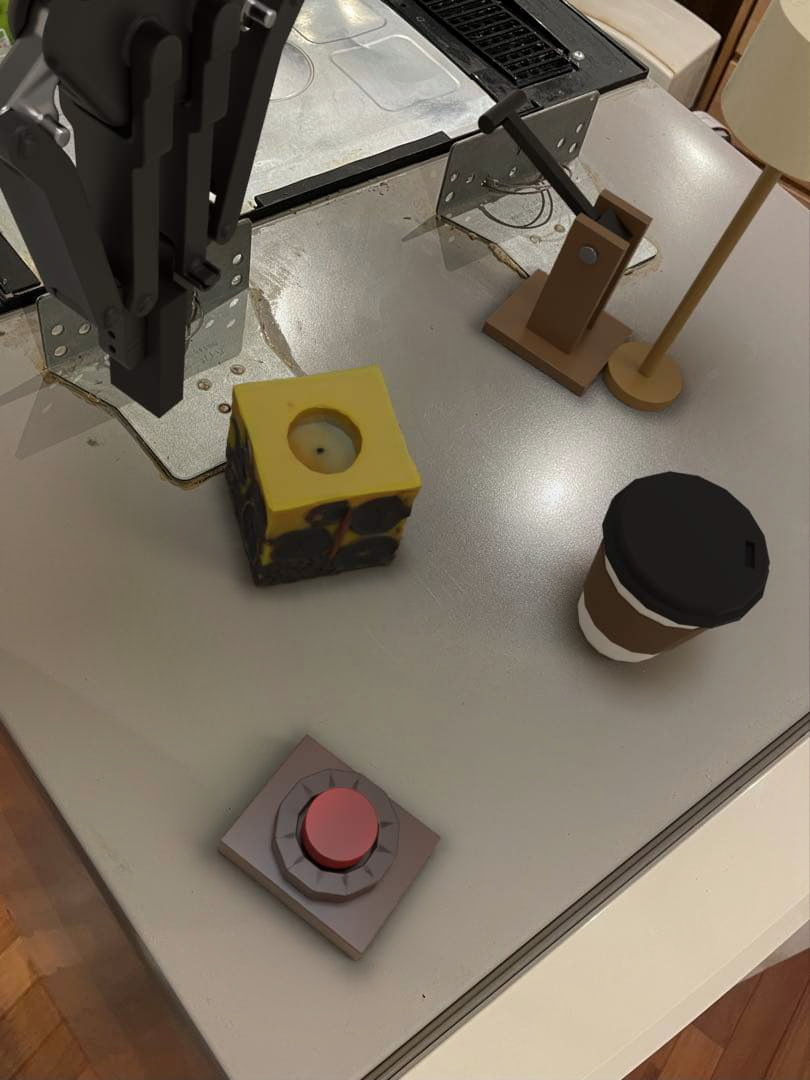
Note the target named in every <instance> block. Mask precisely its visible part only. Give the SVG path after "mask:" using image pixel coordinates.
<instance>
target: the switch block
mask: <svg viewBox="0 0 810 1080" xmlns="http://www.w3.org/2000/svg"><path fill="white" fill-rule="evenodd" d="M333 788H349V789H352V790H355V791H357V792H359V793H360V794H362V795H363V796H365V797H366V798H367V799H368V800H369V802H370V803H371V804H372V806H373V808H374V810H375V812H376V815H377V819H378V831H377V836H376V839H375V841H374V843H373V845H372V846H371V848H370V849H369V850H368V852H367V853H366V854H365V856H364V857H363V858H362V859H361V860H360V861H359V862H357V863H356V864H354V865H352V866H349V867H346V868H340V869H335V868H329V867H326V866H323V865H321V864H319V863H318V862H316V861H315V860H314V859H313V858H312V857H311V856H310V855H309V854H308V852H307V850H306V849H305V846H304V844H303V841H302V833H301V830H302V823H303V820H304V817H305V815H306V813H307V811H308V808H309V806H310V805H311V803H312V802H313V800H314V799H315V798H316V797H317V796H318V795H320V794H321V793H323V792H325V791H327V790H329V789H333ZM441 839H442V837H441V836H440V835H439V834H437V833H436V832H434V831H433V830H432V829H431V828H430V827H428V826H427V825H426V824H424V823H423V822H422V821H420V820H419V819H418V818H416V817H415V816H414V815H412V814H411V813H410V812H409V811H408V810H406V809H405V808H404V807H402V806H401V805H400V804H398V803H397V802H396V801H395V800H393V799H392V798H391V797H390V796H389V795H388V793H387V792H386V791H385V790H383V789H382V788H381V787H380V786H378V785H377V784H375V782H373V781H372V780H370V779H369V778H368V777H367V776H366V775H364V774H363V773H361V772H357V771H355V770H354V769H353V768H352V767H351V766H349V765H348V764H347V763H346V762H344V761H342V760H341V759H340V758H339V757H337V756H336V755H335V754H334V753H332V752H331V751H330V750H328V748H326V747H324V746H323V745H322V744H321V743H320V742H318V741H316V740H315V739H314V738H313V737H312V736H311V735H309V734H305V735H304V736H303V738H302V739H301V740H300V741H299V742H298V744H297V745H296V746H295V747H294V748H293V750H291V752H290V753H289V755H288V756H287V757H286V758H285V760H284V761H282V763H281V764H280V765H279V767H278V768H277V769H276V770H275V772H274V773H273V774H272V775H271V777H270V778H269V779H268V780H267V781H266V782H265V784H264V785H263V786H262V787H261V788H260V789H259V791H258V793H256V794H255V796H254V797H253V798H252V800H251V801H250V802H249V803H248V804H247V806H245V808H244V809H243V810H242V812H241V813H240V814H239V816H237V818H236V819H235V820H234V821H233V823H232V824H231V825H230V826H229V827H228V828H227V830H226V831H225V832H224V833H223V835H222V836H220V838H219V841H218V846H217V851H218V852H219V853H221V854H222V855H223V856H224V857H226V859H228V860H229V861H230V862H232V864H234V865H236V866H237V867H238V868H239V869H241V870H242V871H243V872H244V873H246V875H248V876H249V877H251V879H253V880H254V881H255V882H257V883H258V884H259V885H260V886H261V887H262V888H264V889H265V890H266V891H268V892H269V893H270V894H272V896H274V897H275V898H277V899H278V900H279V901H280V902H281V903H282V904H284V905H285V906H286V907H287V908H289V909H290V910H292V911H293V912H294V913H295V914H296V915H298V916H299V918H301V919H302V920H304V921H305V922H306V923H307V924H309V925H310V926H311V927H312V928H314V929H315V930H316V931H317V932H319V933H320V934H321V935H322V936H324V937H325V939H327V940H328V941H330V942H331V943H332V944H333V945H335V946H336V947H337V948H338V949H340V950H341V951H342V952H343V953H345V954H346V955H347V956H348V957H349V958H351V959H352V960H353V961H357V960H358V959H359V958H360V957H362V956H363V954H364V953H365V951H366V950H367V949H368V948H369V946H370V944H371V943H372V941H373V940H374V938H375V937H376V935H377V934H378V933H379V931H380V930H381V928H382V926H383V925H384V923H386V920H387V919H388V918H389V916H390V915H391V913H392V912H393V910H394V908H395V907H396V906H397V904H398V903H399V902H400V900H401V899H402V896H403V895H404V894H405V892H406V891H407V889H408V888H409V886H410V885H411V883H412V882H413V880H414V879H415V878H416V876H417V875H418V873H419V871H420V870H421V868H422V867H423V866H424V864H425V863H426V861H427V860H428V859H429V857H430V856H431V854H432V853H433V851H434V849H435V848H436V847H437V845H438V844H439V842H440V840H441Z"/></svg>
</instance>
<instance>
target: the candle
mask: <svg viewBox="0 0 810 1080" xmlns="http://www.w3.org/2000/svg"><path fill="white" fill-rule="evenodd" d="M386 384H387V383H386V381H385V378H384V375H383V371H382V369H381V368H380V366H378V365H377V364H374V365H373V364H372V365H366V366H359V367H353V368H346V369H340V370H332V371H328V372H321V373H313V374H307V375H301V376H292V377H285V378H276V379H269V380H259V381H249V382H242V383H238V384H233V385H232V390H231V405H230V409H231V413H230V416H229V427H228V431H227V437H226V446H225V453H224V454H225V459H226V464H225V467H224V477H225V478H226V479H227V484H228V485H229V493H230V495H231V497H232V499H233V506H234V508H235V510H234V514H235V516H236V519H237V522H238V526H239V528H240V531H241V534H242V540H243V543H244V547H245V553H246V554H247V556H248V558H249V563H250V569H251V571H252V581H253V582H254V583H255V585H257V586H262V587H263V586H274V585H277V584H280V583H287V584H289V583H293V582H297V581H299V580H301V579H302V580H303V579H305V580H308V579H311V578H317V577H319V576H329V575H332V574H341V573H342V572H347V571H350V570H354V569H363V568H368V567H373V566H377V565H387V566H388V565H389V564H390V563H391V562H392V561H394V560H395V559H396V552H398V550H399V549H400V546H401V544H400V543H401V540H402V539H403V534H404V530H405V525H406V522H407V520H408V518H409V517H411V515H412V509H413V504H414V501H415V500H416V498H417V496H418V494H419V493H420V491H421V490H422V488H423V485H422V484H423V483H422V476H421V474H420V472H419V470H418V468H417V466H416V464H415V462H414V460H413V458H412V456H411V454H410V453H409V451H408V446H407V443H406V439H405V437H404V434H403V431H402V429H401V425H400V424H399V421H398V418H397V415H396V413H395V410H394V406H393V404H392V399H391V397H390V392H389V390H388V387H387V385H386Z"/></svg>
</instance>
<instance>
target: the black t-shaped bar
mask: <svg viewBox="0 0 810 1080" xmlns="http://www.w3.org/2000/svg"><path fill="white" fill-rule="evenodd" d="M527 104H528V96H527V94H526V92H525V91H524V90H523V89H521V88H515V89H513V90H512V91H510V92H509V93H508V94H507V95H505V96H504V97H503V98H501V99H500V100H499V101H497V102H496V103H495V104H494V105H493V106H491V107H490V108H489V109H488V110H486V111H485V112H483V113H482V114H481V115H480V116H479V117H478V120H477V127H478V129H479V131H480V132H481V133H482V134H484V135H488V136H489V135H491V134H493V133H494V132H495V131H496V130H498V129H500V127H502V128H503V129H504V131H506V133H507V134H508V135H509V136H510V138H511V139H512V140H513V142H514V143H515V145H517V146H518V147H519V149H520V150H521V152H523V154H524V155H525V156H526V157H527V159H528V160H529V161H530V162H531V163H532V164H533V166H534V167H535V168H536V170H538V172H539V173H540V174H541V175H542V177H543V178H544V180H546V181H547V183H548V184H549V185H550V187H551V188H552V189H553V190H554V191H555V193H556V194H557V195H558V197H560V199H561V200H562V201H563V202H564V204H565V205H566V206H567V207H568V209H569V210H570V211H571V212H572V213H573V215H575V218H576V217H577V216H578V215H579V214H580V213H583V214H584V215H586V216H587V217H589V218H591V219H592V220H594V221H595V222H597V223H598V224H600V225H602V226H603V227H605V228H606V229H608V230H609V231H611V232H613V233H614V234H616V235H617V236H619V237H620V238H622V239H623V240H625V241H627V242H629V241H630V240H631V239H632V238H633V235H632V233H631V232H630V231H629V230H628V229H627V227H626V226H625V225H624V224H623V222H622V221H621V220H620V219H619V217H618V216H617V215H616V214H615V213H614V211H613V210H612V209H611V208H609V209H608V210H607V211H606V212H604V213H603V214H602V215H600V214H599V213H598V212H597V210H596V209H595V208H594V204H592V203H591V202H590V200H589V199H588V197H586V196H585V194H584V193H583V192H582V191H581V190H580V188H579V186H578V185H577V184H576V183H575V182H574V181H573V179H572V178H571V177H570V176H569V175H568V173H567V172H566V171H565V170H564V169H563V167H562V165H560V164H559V163H558V161H557V160H556V158H554V156H553V155H552V154H551V152H550V151H549V150H548V149H547V148H546V146H545V145H544V144H543V143H542V142H541V141H540V139H539V138H538V137H537V135H536V134H535V133H534V132H533V130H531V128H530V127H529V126H528V124H527V123H526V122H525V121H524V120H523V119H522V117H521V115H519V114H518V113H519V112H520V111H521V110H522V109H524V108H525V107H526V106H527Z"/></svg>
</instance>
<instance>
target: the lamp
mask: <svg viewBox="0 0 810 1080" xmlns="http://www.w3.org/2000/svg"><path fill="white" fill-rule="evenodd" d="M720 108H721V113H722V116H723V118H724V120H725V122H726V124H727V127H728V128H729V130H730V131H731V132H732V133H733V135H734V136H735V137H736V139H737V140H738V141H740V143H741V144H742V145H743V146H744V147H745V148H746V149H747V150H749V152H750V153H752V154H754V155H755V156H756V157H757V158H759V160H761V161H763V162H765V163H766V165H765V166H764V168H763V170H762V171H761V173H760V175H759V176H758V178H757V179H756V181H755V182H754V184H753V186H752V187H751V189H750V190H749V192H748V194H747V195H746V197H745V199H744V200H743V202H742V203H741V204H740V207H739V208H738V209H737V211H736V213H735V214H734V216H733V217H732V219H731V221H730V222H729V224H728V226H727V228H726V229H725V230H724V232H723V234H722V235H721V236H720V238H719V240H718V241H717V243H716V245H715V246H714V248H713V249H712V251H711V253H710V254H709V256H708V258H707V259H706V261H705V262H704V264H703V265H702V267H701V269H700V270H699V272H698V273H697V275H696V277H695V278H694V280H693V281H692V283H691V285H690V286H689V288H688V290H687V291H686V292H685V294H684V296H683V297H682V298H681V300H680V302H679V304H678V305H677V307H676V309H675V310H674V311H673V313H672V315H671V316H670V318H669V320H668V322H667V323H666V324H665V326H664V328H663V329H662V331H661V333H660V334H659V336H658V338H657V339H656V340H655V342H654V343H653V345H652V344H649V343H645V342H641V341H628V342H627V341H626V343H623V344H621V345H620V346H618V347H616V348H615V350H613V352H614V353H613V352H612V353H613V355H612V353H611V355H610V358H609V360H608V362H607V364H606V366H605V367H604V369H603V370H602V374H603V375H602V376H603V380H604V382H605V385H606V387H607V388H608V390H609V391H610V392H611V394H612V395H613V396H614V397H615V398H616V399H618V400H619V401H620V402H621V403H623V404H624V405H626V406H628V407H631V408H632V409H635V410H639V411H642V412H658V411H662V410H665V409H667V408H668V407H670V406H671V405H672V403H674V401H675V400H676V398H677V396H678V395H679V393H680V392H681V390H682V386H683V377H682V373H681V370H680V368H679V367H678V364H677V363H676V362H675V361H674V360H673V359H672V357H671V356H670V355H668V354H667V353H668V351H669V350H670V349H671V346H672V345H673V343H674V342H675V340H676V338H677V337H678V335H679V334H680V333H681V330H682V329H683V328H684V326H685V325H686V323H687V322H688V320H689V319H690V317H691V316H692V314H693V312H694V311H695V310H696V308H697V306H698V305H699V303H700V302H701V301H702V298H703V297H704V295H705V294H706V293H707V291H708V289H709V288H710V286H711V285H712V283H713V282H714V280H715V279H716V277H717V276H718V274H719V273H720V271H721V269H722V268H723V266H724V264H725V263H726V261H727V260H728V258H729V257H730V256H731V254H732V252H733V250H734V249H735V248H736V246H737V245H738V243H739V241H740V240H741V238H742V237H743V235H744V233H746V231H747V229H748V227H749V226H750V225H751V223H752V221H754V219H755V217H756V215H757V214H758V212H759V211H760V210H761V207H762V206H763V205H764V203H765V201H766V200H767V198H768V196H769V195H770V194H771V192H772V190H773V189H774V188H775V186H776V184H777V183H778V181H779V180H780V179H781V177H782V175H783V173H784V174H786V175H787V176H790V177H792V178H795V179H798V180H801V181H803V182H806V183H810V0H771V1H770V2H769V4H768V7H767V8H766V10H765V12H764V13H763V16H762V17H761V19H760V21H759V23H758V25H757V27H756V28H755V30H754V32H753V34H752V36H751V38H750V39H749V42H748V43H747V45H746V47H745V49H744V50H743V53H742V54H741V56H740V59H739V60H738V62H737V64H736V65H735V67H734V69H733V71H732V73H731V74H730V76H729V78H728V81H727V82H726V84H725V86H724V88H723V89H722V92H721V96H720ZM616 349H617V350H616Z"/></svg>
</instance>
